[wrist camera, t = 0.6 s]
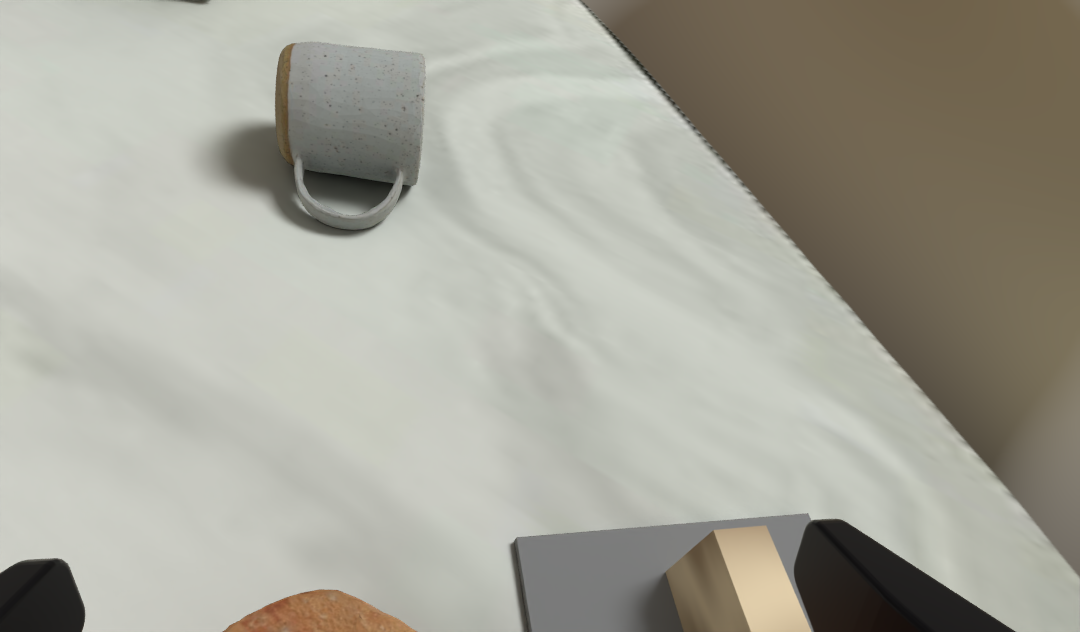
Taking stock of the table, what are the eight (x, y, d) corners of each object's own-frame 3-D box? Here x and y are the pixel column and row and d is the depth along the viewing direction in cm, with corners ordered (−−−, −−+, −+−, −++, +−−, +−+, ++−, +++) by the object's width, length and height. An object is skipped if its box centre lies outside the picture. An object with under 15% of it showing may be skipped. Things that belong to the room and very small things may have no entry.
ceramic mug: (289, 121, 41) (285, 4, 35) (414, 139, 43) (429, 33, 37) (268, 230, 34) (260, 107, 28) (418, 244, 36) (437, 133, 31)
